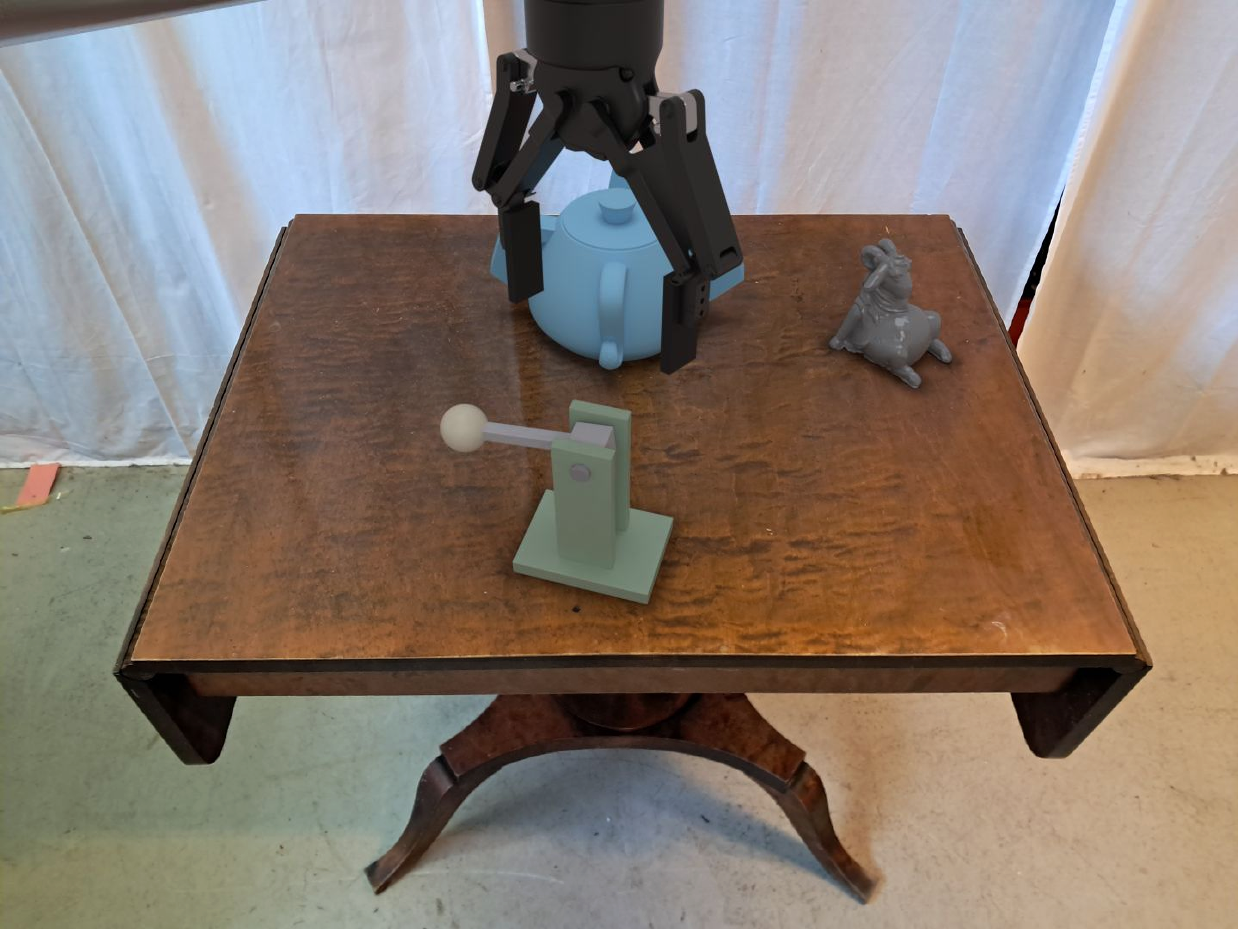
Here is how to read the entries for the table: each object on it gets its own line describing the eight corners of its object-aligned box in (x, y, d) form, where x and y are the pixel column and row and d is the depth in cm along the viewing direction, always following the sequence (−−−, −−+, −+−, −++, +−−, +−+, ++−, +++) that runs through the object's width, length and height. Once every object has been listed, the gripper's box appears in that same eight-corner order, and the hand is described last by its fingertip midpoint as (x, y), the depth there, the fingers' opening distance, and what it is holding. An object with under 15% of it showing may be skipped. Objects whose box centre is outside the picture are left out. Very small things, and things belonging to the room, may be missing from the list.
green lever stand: (513, 572, 75) (497, 451, 65) (547, 498, 80) (537, 376, 70) (647, 605, 73) (652, 485, 63) (672, 527, 78) (681, 406, 68)
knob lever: (438, 458, 71) (427, 423, 68) (457, 426, 73) (447, 391, 71) (605, 484, 67) (600, 448, 65) (620, 449, 70) (615, 413, 67)
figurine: (910, 394, 89) (939, 303, 81) (825, 344, 94) (844, 254, 86) (959, 354, 93) (991, 263, 85) (874, 308, 98) (897, 218, 90)
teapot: (744, 323, 96) (758, 202, 86) (599, 407, 88) (595, 285, 78) (623, 241, 106) (622, 125, 96) (481, 310, 98) (465, 190, 88)
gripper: (837, 0, 45) (787, 372, 59) (486, -63, 58) (509, 254, 71) (747, 30, 41) (714, 426, 54) (388, -46, 54) (432, 289, 67)
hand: (598, 328), depth 63 cm, fingers open, 13 cm apart
